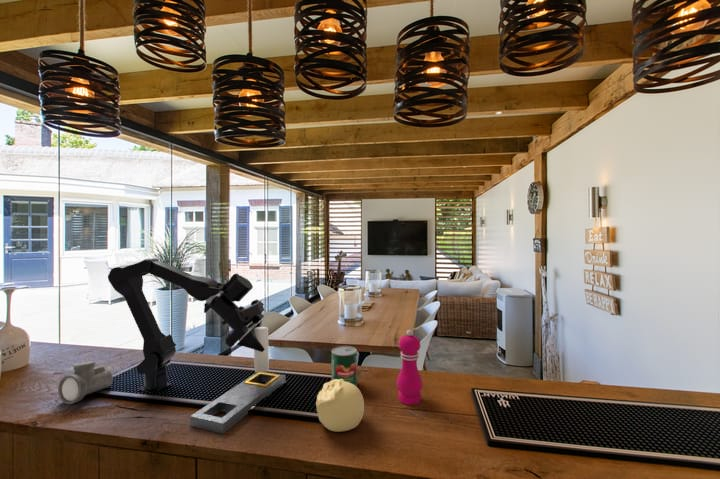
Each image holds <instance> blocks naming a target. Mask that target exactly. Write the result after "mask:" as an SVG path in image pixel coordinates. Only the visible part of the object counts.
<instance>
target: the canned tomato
mask: <svg viewBox="0 0 720 479" xmlns="http://www.w3.org/2000/svg"><path fill="white" fill-rule="evenodd" d="M357 353H358V350H357V348H356V347H355V346H350V345H340V346H336V347H334V348H332V349H331V381H332V380H334V379H343V380H344V381H345V382H349V383H352V384H353V385H355V386H356V387H357V386H358V377H357V376H358V373H357V372H358V361H357V360H358V358H357V356H358V354H357Z"/></svg>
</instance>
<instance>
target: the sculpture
mask: <svg viewBox="0 0 720 479" xmlns="http://www.w3.org/2000/svg"><path fill="white" fill-rule="evenodd" d="M322 386H323V387H322V389H321V390H320V391H319V392H318V394H317V395H316V402H315V406H316V413H317V414H318V420H319V422H320V423H321V424H322V426H324V427H325V428H326V429H327V430H328V431H331V432H335V433H336V432H338V433H339V432H340V433H341V432H346V431H351V430H352V429H354V428H357V426H359V424H360V423H361V420H362V419H363V416H364V412H365V401H364V397H363V393H361V390H360V389H359V388H358V387H357V386H355V385H353V384H352V383H349V382H345V381H344V380H343V379H334V380H332V379H331V380H330V381H327V382H325V383H323V385H322Z"/></svg>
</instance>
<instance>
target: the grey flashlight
mask: <svg viewBox="0 0 720 479" xmlns="http://www.w3.org/2000/svg"><path fill="white" fill-rule="evenodd" d="M95 365H96V361H95V360H87V361H82V362H81V361H80V362H77V363H75V364H73V366H72V367H73V372H74V373H71V374H67V375H65V376H63V377H62V378H61V379H60V380H59V384H58V388H57V392H58V396H59V399H60V400H61V402H62V403H63V404H64V405H74V404H76V403H79V402H80V401H82V400H83V399H84V398H85V396H87V395H89V394H93V393H96V392H99V391H102V390H104V389H107V388H109V387H110V386H111V385H112V384H113V381H114V376H113V373H112V372H113V371H111V370H110V369H109V368H106V367H105V365H102V364H100V365H96V366H95Z"/></svg>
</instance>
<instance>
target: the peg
mask: <svg viewBox="0 0 720 479" xmlns="http://www.w3.org/2000/svg"><path fill="white" fill-rule="evenodd" d="M254 336H255V337H256V338H257V340H258V341H259V342H260V343H261V345H262V346H263V347H264V349H265V350H264V351H263V352H260V351H257V350H254V349H253V353H254V354H253V355H254V356H253V357H254V358H253V360H254V362H253V363H254V364H253V365H254V366H253V367H254V371H255V373H256V372H268V371H269V369H270V360H269V358H270V356H269V352H270V350H269V348H270V347H269V345H268V343H269V327H268V326H261V327H257V328H255V329H254Z"/></svg>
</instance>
